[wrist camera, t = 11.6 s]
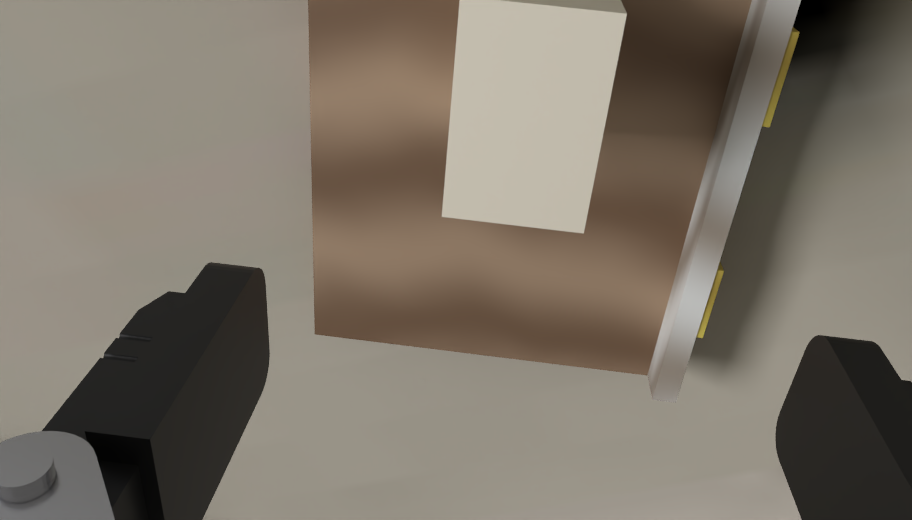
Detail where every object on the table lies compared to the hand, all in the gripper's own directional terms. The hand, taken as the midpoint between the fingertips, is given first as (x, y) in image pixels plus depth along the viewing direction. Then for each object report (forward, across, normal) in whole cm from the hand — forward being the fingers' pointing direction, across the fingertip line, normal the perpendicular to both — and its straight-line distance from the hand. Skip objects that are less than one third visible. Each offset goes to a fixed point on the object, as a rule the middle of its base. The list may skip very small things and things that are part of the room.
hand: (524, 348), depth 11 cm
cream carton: (+18, 0, 0) cm, 18 cm away
